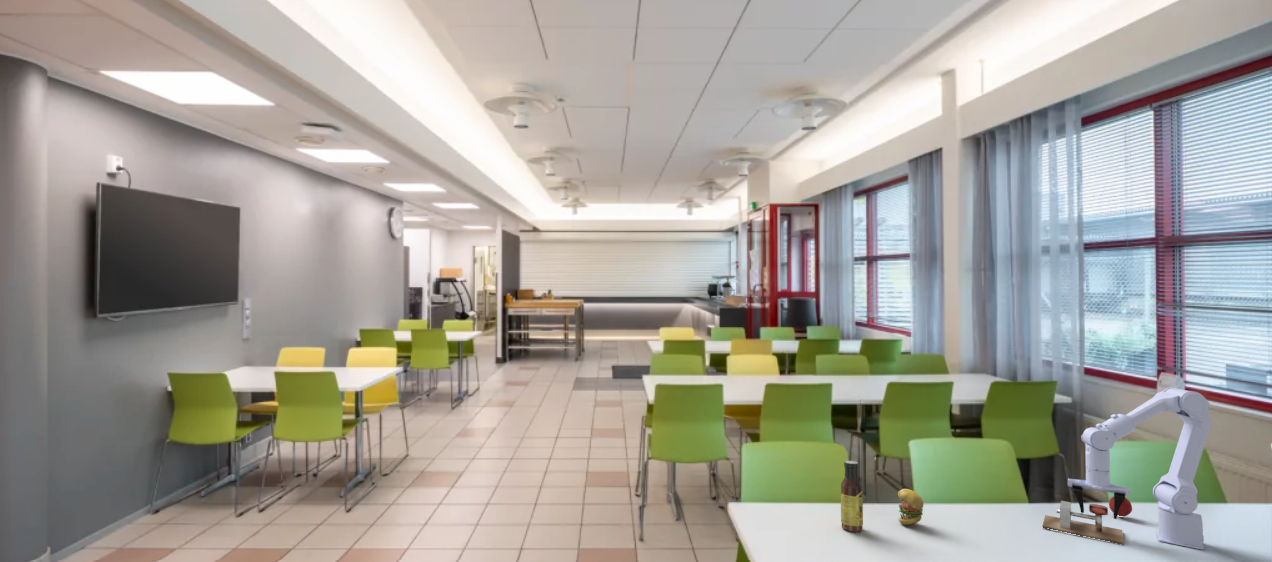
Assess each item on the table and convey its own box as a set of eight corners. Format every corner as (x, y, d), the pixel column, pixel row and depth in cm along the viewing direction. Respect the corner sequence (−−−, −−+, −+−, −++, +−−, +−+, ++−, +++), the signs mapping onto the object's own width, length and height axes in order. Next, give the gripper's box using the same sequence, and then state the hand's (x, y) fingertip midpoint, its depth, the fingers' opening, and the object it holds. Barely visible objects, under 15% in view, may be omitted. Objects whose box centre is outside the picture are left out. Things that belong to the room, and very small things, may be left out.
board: (1122, 532, 176) (1122, 529, 176) (1123, 545, 166) (1123, 542, 166) (1045, 517, 187) (1045, 515, 187) (1042, 528, 178) (1042, 526, 178)
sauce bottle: (864, 533, 172) (864, 465, 173) (842, 531, 174) (842, 464, 174) (860, 525, 179) (860, 460, 180) (839, 523, 180) (839, 458, 181)
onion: (1132, 522, 184) (1132, 496, 184) (1109, 518, 188) (1109, 493, 188) (1131, 517, 189) (1131, 492, 189) (1108, 513, 192) (1108, 488, 193)
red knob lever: (1108, 529, 175) (1107, 506, 175) (1108, 534, 171) (1107, 510, 172) (1057, 519, 182) (1056, 497, 183) (1056, 524, 179) (1056, 500, 179)
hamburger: (900, 518, 185) (900, 480, 186) (925, 523, 181) (925, 484, 181) (895, 526, 179) (895, 486, 179) (921, 531, 175) (921, 491, 175)
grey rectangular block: (1070, 521, 182) (1070, 502, 182) (1070, 529, 175) (1069, 509, 176) (1061, 520, 183) (1061, 500, 183) (1060, 527, 177) (1059, 507, 177)
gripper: (1067, 467, 176) (1067, 512, 176) (1129, 476, 167) (1130, 524, 167) (1068, 462, 182) (1068, 506, 181) (1128, 471, 173) (1129, 517, 172)
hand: (1098, 514), depth 175 cm, fingers open, 7 cm apart
